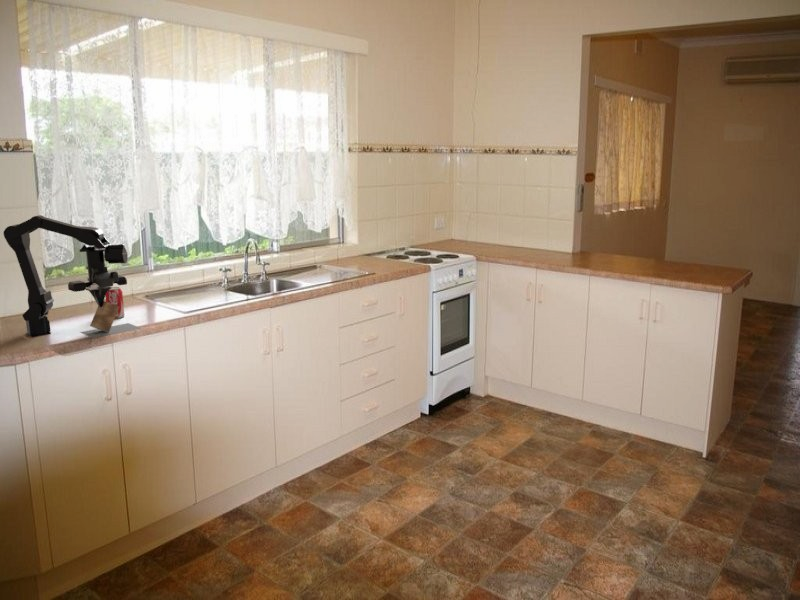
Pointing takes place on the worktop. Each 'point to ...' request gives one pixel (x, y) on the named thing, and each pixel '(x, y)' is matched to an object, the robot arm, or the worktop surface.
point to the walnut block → (104, 316)
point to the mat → (113, 330)
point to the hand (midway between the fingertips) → (100, 306)
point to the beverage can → (116, 300)
